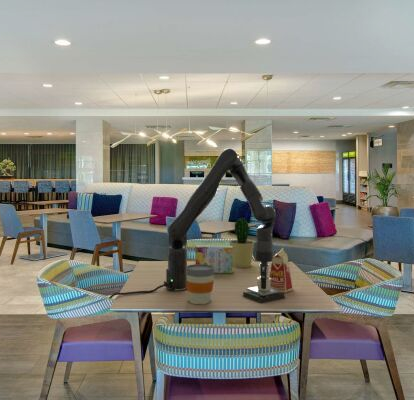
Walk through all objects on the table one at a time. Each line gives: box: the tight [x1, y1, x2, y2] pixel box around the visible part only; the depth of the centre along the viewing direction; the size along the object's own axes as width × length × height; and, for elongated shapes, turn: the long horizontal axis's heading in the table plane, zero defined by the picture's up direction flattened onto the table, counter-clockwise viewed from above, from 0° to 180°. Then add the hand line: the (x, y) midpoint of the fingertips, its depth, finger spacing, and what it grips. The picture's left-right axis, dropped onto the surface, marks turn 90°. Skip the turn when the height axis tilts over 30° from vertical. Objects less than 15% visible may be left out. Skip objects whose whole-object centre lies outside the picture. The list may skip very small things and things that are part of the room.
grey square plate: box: [246, 285, 282, 296], centre depth 183 cm, size 11×11×1 cm
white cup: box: [256, 276, 271, 291], centre depth 183 cm, size 6×6×5 cm
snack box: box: [194, 245, 234, 274], centre depth 232 cm, size 21×6×15 cm, turn 84°
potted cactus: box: [228, 217, 255, 269], centre depth 250 cm, size 15×15×30 cm
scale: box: [242, 290, 286, 304], centre depth 183 cm, size 14×12×3 cm
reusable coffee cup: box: [185, 263, 215, 305], centre depth 177 cm, size 13×13×15 cm
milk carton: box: [268, 247, 294, 293], centre depth 195 cm, size 9×9×20 cm
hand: (263, 286), depth 183 cm, fingers closed on white cup, 6 cm apart
